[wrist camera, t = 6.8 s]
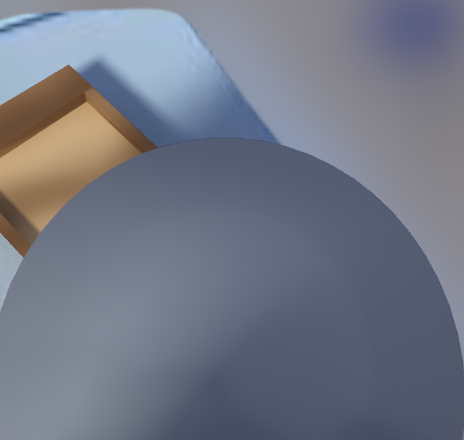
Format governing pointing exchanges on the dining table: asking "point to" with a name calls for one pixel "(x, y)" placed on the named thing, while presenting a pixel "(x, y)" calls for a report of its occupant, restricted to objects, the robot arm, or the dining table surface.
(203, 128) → the dining table surface
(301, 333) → the grey domed cylinder
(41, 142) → the wooden tray
